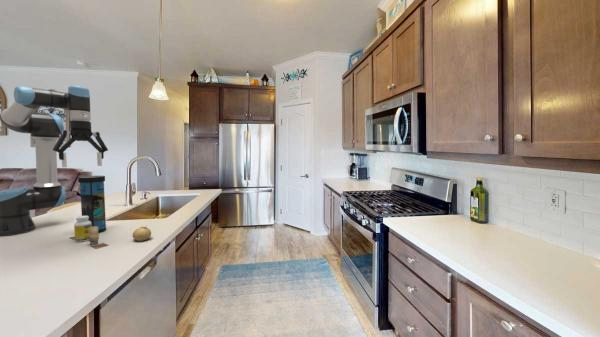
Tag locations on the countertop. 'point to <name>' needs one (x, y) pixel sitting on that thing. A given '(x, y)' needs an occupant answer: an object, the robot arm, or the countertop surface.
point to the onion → (141, 234)
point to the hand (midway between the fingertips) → (83, 166)
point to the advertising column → (93, 200)
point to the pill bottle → (82, 228)
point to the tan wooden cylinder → (93, 235)
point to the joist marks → (94, 245)
